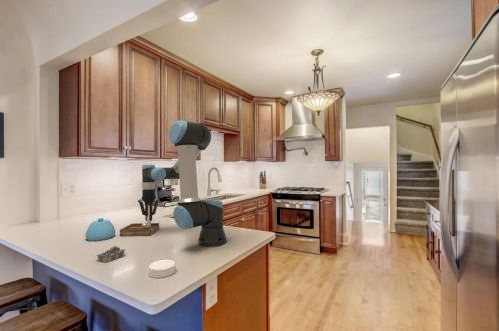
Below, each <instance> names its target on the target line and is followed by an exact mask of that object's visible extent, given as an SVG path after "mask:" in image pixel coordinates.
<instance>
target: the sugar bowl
mask: <svg viewBox="0 0 499 331" xmlns="http://www.w3.org/2000/svg"><path fill="white" fill-rule="evenodd" d="M115 234H116V229H115V226H114V224H113V223H112V222H111V220H108V219H104V218H103V217H99V218H97V220H94V221H92V222H91V223H90V224H89V226H88V228H86V231H85V235H84V236H85V239H87V240H88V241H90V242H99V241H105V239H106V240H108V239H112V238H113V237H114V236H115ZM111 237H112V238H111Z"/></svg>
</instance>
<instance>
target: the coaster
mask: <svg viewBox="0 0 499 331" xmlns="http://www.w3.org/2000/svg"><path fill="white" fill-rule="evenodd" d="M176 267H177V264H176V261H174V260H171V259H161V260H156V261H154V262H153V261H152V263H150V264H149V265H148V276H149V277H151V278H153V279H162V278H163V279H164V278H166V277H169V276H172V275H173V274H175V273H176V271H177V269H176Z"/></svg>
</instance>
